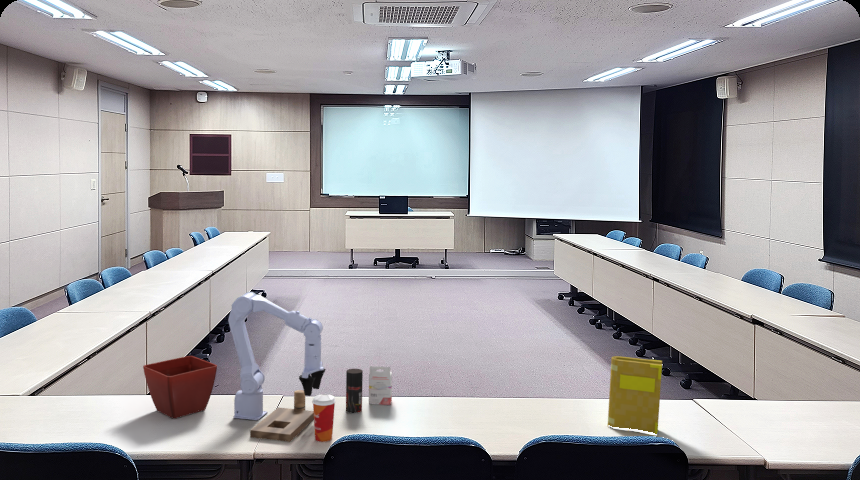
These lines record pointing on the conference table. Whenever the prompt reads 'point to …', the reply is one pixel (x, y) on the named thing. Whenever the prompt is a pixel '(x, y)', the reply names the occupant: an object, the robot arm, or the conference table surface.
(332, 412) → the paper cup
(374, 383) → the ink cartridge box
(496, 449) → the conference table surface
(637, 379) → the book
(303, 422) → the socket board
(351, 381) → the deodorant
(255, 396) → the robot arm
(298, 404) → the peg
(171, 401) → the plant pot
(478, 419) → the conference table surface
